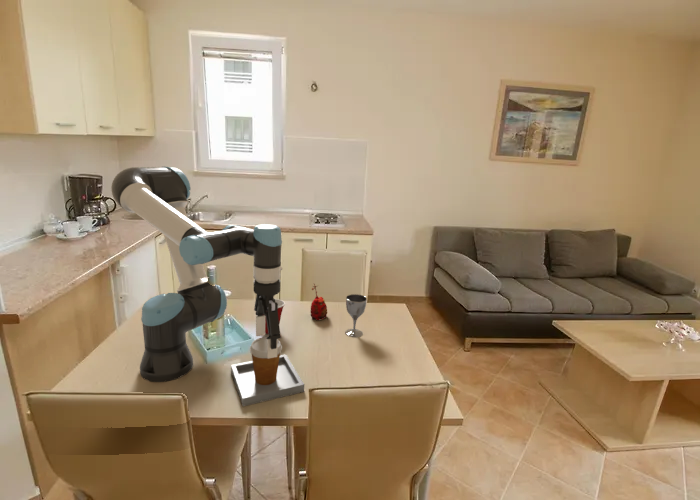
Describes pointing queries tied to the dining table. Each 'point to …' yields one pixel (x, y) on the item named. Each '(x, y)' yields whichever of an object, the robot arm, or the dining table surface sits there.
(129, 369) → the dining table surface
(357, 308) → the wine glass
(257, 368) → the disposable coffee cup
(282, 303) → the plastic cup
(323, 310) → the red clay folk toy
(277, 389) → the tray
